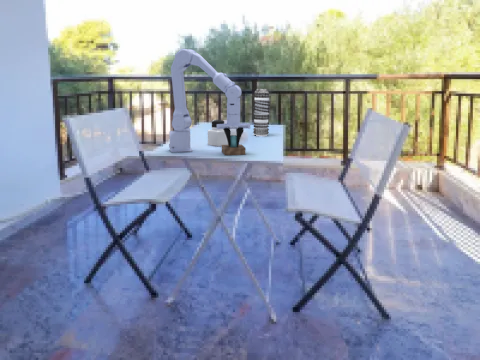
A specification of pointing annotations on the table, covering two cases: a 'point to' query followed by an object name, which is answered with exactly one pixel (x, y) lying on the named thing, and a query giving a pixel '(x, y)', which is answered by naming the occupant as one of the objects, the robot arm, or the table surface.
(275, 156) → the table surface
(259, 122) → the decorative candle
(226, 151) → the socket block
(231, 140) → the peg
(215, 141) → the medicine bottle
